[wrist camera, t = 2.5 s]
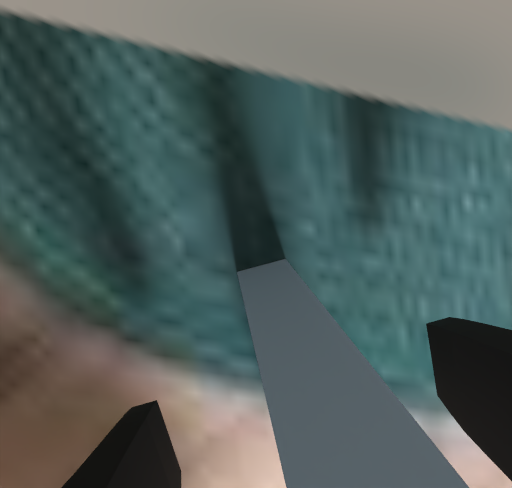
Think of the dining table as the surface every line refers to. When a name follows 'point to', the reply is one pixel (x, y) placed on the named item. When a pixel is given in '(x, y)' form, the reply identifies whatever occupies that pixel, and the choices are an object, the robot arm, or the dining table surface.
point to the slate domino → (330, 396)
